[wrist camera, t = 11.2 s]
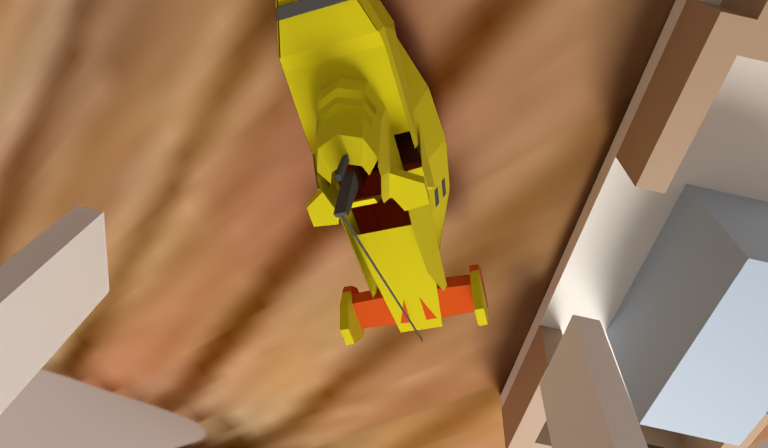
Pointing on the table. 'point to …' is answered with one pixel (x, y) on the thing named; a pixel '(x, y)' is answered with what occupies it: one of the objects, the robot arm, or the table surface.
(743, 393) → the block
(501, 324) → the table surface
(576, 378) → the robot arm
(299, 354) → the table surface
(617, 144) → the jig
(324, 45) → the toy boat
